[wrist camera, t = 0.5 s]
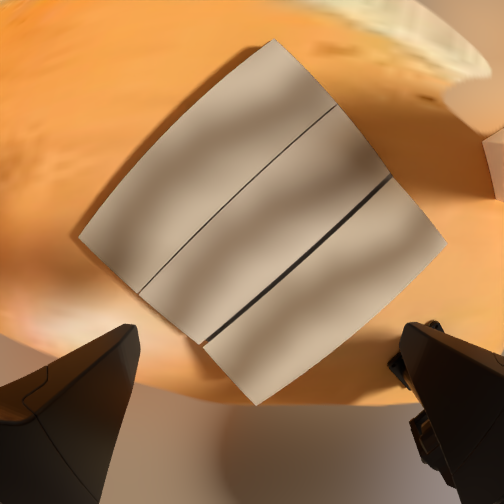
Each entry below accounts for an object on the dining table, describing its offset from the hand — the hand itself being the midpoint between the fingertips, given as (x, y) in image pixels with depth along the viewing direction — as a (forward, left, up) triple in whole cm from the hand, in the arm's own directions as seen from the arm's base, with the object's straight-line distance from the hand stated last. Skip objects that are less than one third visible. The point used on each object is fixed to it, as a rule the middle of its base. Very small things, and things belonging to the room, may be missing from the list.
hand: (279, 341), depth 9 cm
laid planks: (+3, -1, -12) cm, 12 cm away
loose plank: (-6, -1, -10) cm, 12 cm away
